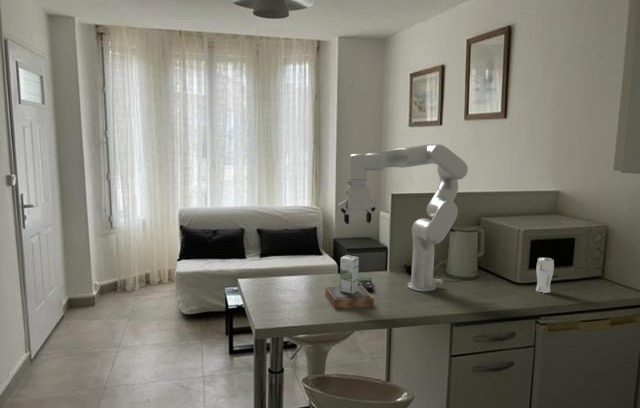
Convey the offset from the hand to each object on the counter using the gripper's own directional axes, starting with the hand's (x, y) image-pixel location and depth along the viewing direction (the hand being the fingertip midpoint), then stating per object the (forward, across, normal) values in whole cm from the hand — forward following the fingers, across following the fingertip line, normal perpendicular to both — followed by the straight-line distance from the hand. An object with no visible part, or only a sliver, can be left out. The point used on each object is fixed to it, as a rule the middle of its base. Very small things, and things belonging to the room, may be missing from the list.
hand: (357, 223), depth 202 cm
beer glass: (+33, +83, -15) cm, 91 cm away
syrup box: (+26, -8, -11) cm, 30 cm away
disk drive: (+31, +4, +6) cm, 32 cm away
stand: (+30, -8, -11) cm, 33 cm away
